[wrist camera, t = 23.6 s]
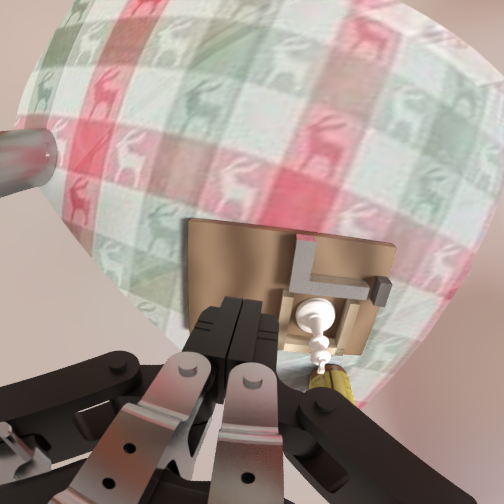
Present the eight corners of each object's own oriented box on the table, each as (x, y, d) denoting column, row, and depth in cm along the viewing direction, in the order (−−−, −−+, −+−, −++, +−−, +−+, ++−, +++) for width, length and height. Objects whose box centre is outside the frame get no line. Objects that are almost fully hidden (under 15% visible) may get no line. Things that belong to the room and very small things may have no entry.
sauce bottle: (308, 390, 40) (308, 501, 21) (308, 363, 38) (310, 486, 19) (348, 386, 39) (363, 494, 20) (351, 359, 37) (374, 478, 18)
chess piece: (339, 299, 32) (354, 354, 22) (330, 332, 33) (339, 389, 24) (299, 295, 32) (301, 351, 23) (292, 328, 34) (291, 386, 25)
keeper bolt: (288, 283, 32) (288, 291, 30) (296, 233, 29) (297, 239, 28) (362, 292, 31) (366, 300, 29) (374, 244, 29) (379, 250, 27)
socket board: (192, 328, 38) (185, 343, 34) (192, 217, 32) (182, 225, 29) (359, 348, 36) (363, 364, 32) (392, 243, 30) (403, 254, 27)
